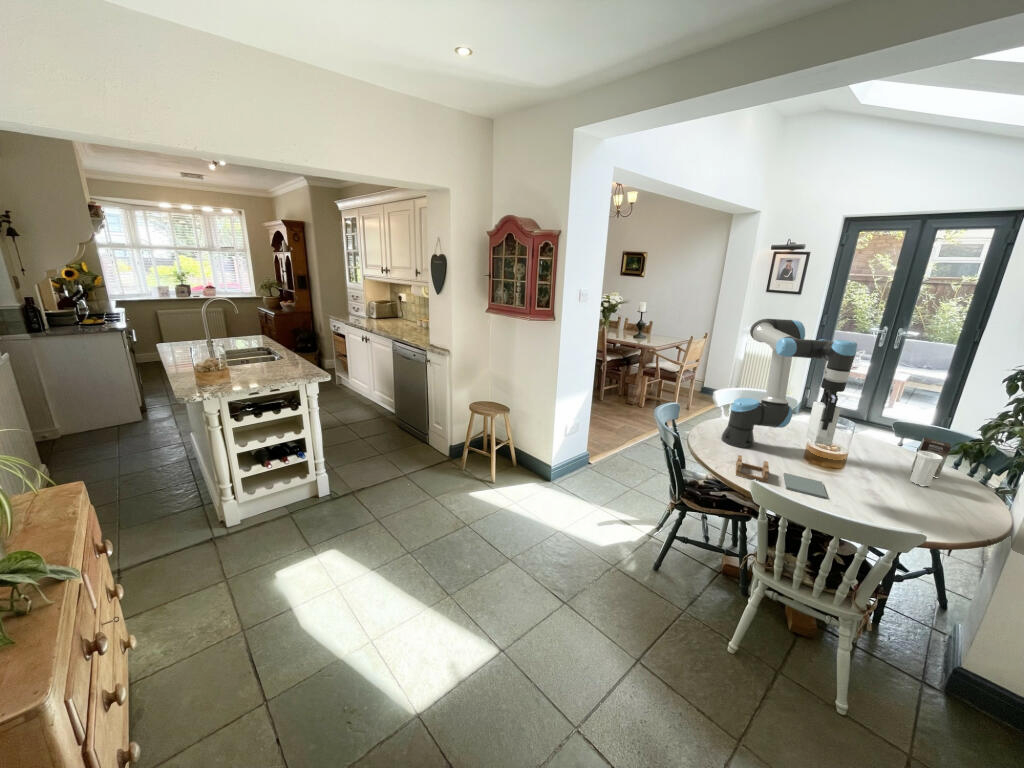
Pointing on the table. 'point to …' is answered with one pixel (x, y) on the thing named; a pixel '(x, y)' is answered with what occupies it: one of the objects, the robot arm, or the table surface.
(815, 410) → the skincare box
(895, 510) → the table surface
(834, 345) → the robot arm
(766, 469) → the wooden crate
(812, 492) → the plate
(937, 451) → the coffee box
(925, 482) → the cup
